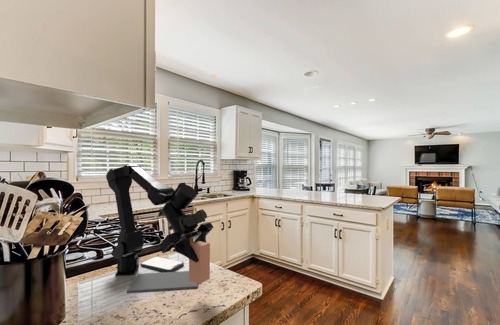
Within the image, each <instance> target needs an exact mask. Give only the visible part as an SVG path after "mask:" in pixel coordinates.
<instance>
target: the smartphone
mask: <svg viewBox="0 0 500 325" xmlns="http://www.w3.org/2000/svg"><path fill="white" fill-rule="evenodd" d="M184 265H185V262H183V261H180V260H176V259H170V258H164V257H161V256H153V257H152V258H149V259H147V260H144V261H143V262H141V263H140V267H141V266H142V267H141V268H145V267H146V269H149V268H150V270H154V271H158V272H160V273H162V272H176V271H177V270H179V269H181V268H182V267H184Z"/></svg>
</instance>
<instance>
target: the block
mask: <svg viewBox="0 0 500 325" xmlns="http://www.w3.org/2000/svg"><path fill="white" fill-rule="evenodd" d="M193 242H194V241H193ZM193 242H192V243H190V245H191V246H192V248H193V250H194V252H195V253H196V255H197V257H198V259H199V261H198V262H197V263H196V262H194V261H193V260H191V259H189V258H188V271H189V281H191V282H194V283H197V284H198V285H202V284H203V283H205V282H207V281H208V280H210V279H211V277H210V276H211V275H210V274H211V266H210V265H211V251H210V250H211V243H210V242H207V241H206V242H203V241H197V242H194V243H193Z"/></svg>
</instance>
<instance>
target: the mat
mask: <svg viewBox="0 0 500 325" xmlns="http://www.w3.org/2000/svg"><path fill="white" fill-rule="evenodd" d="M198 285H199V284H197V283H194V282H191V281H189V270H186V271H185V270H184V271H183V270H182V271H173V272H150V273H149V272H148V273H146V272H145V273H138V274H136V276H135V278H134V279H133V281H132V282H131V283H130V285H129V286H128V287H127V289H126V293H139V292H140V293H141V292H142V293H143V292H154V291H155V292H158V291H169V290H170V291H171V290H187V289H198V287H199V286H198Z"/></svg>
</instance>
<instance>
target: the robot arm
mask: <svg viewBox="0 0 500 325" xmlns="http://www.w3.org/2000/svg"><path fill="white" fill-rule="evenodd" d="M105 176H106V177H105V179H106V181H107V185H108V187H109V188H110V189H111V190H112V191H113V193H114V197H115V203H116V208H117V215H118V221H119V227H120V232H119V234H118V237H117V239H116V240H117V245H116V246H115V248H114V249H113V250H112V257H113V258H114V259H116V261H117V262H116V268H117V271H116V272H115V276H127V275H128V276H129V275H135V274H136V272H137V271H138V269H139V268H140V257H139V256H138V254H140V253H142V251H143V246H144V241H145V238H144V236H143V231H142V229H140V230H139V229H138V227H136V223H135V217H134V211H133V206H132V200H131V194H130V189H131V187H132V184H133V181H134V182H135V183H136V184H137V185H139V186H140V188H142V189H143V190H144V191H145V192H146V194H147V198H148V200H149V201H150V203H152V205H154V206H161V205H164V206H163V207H160V208H159V212H158V217H160V218H161V217H163V216H164V218H165V219H166V221H167V222H168V224H169V226H168V229H169V231H173V232H172V233H169V234H167V235H166V236H165V238H164V239H162V240H161V242H160V243H159V249H160V251H161V253H162V254H165V253H168V252H171V250H172V252H173V253H178V254H180V255H182V256H184V257H186V258H188V260H189V259H191V260H193V261H194V262H196V263H197V262H198V261H199V259H198V257H197V255H196V253H195V252H194V250H193V248H192V246H191V245H190V244H191V239H193V241H192V243H194V242H197V241H203V242H207V240H206V239H207V235H208V234H209V233H210V232H211V231H212V230H213V229H214V226H213V224H212V222H209V221H206V219H207V218H208V216H207V215H208V214H207V212H206V211H205V210H204V209H203V208H202V209H199V210H197V211H196V212H195V213H192V214H189V213H188V214H186V212H185V211H184V210H186V209H187V208H188V207H189V206H190V205H191V204H192V202H193V201H194V200H195V199H196V197H197V196H198V194H197V191H196V189H195V188H193V187H192V186H190V185H188V184H186V182H179V183H178V185H177V187H175V188H176V189H174V188H173V187H171V186H169V185H168V184H165V183H162V182H160V181H157V180H156V179H155V178H154V177H152V176H151V175H150V174H149V173H148V172H147V171H145V170H144V169H143V168H142V167H141V166H140V165H139V164H126V165H123V166H121V167H120V166H119V167H117V168H111V169H109V170H108V171H107V173H106V175H105ZM172 247H174V249H172Z"/></svg>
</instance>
